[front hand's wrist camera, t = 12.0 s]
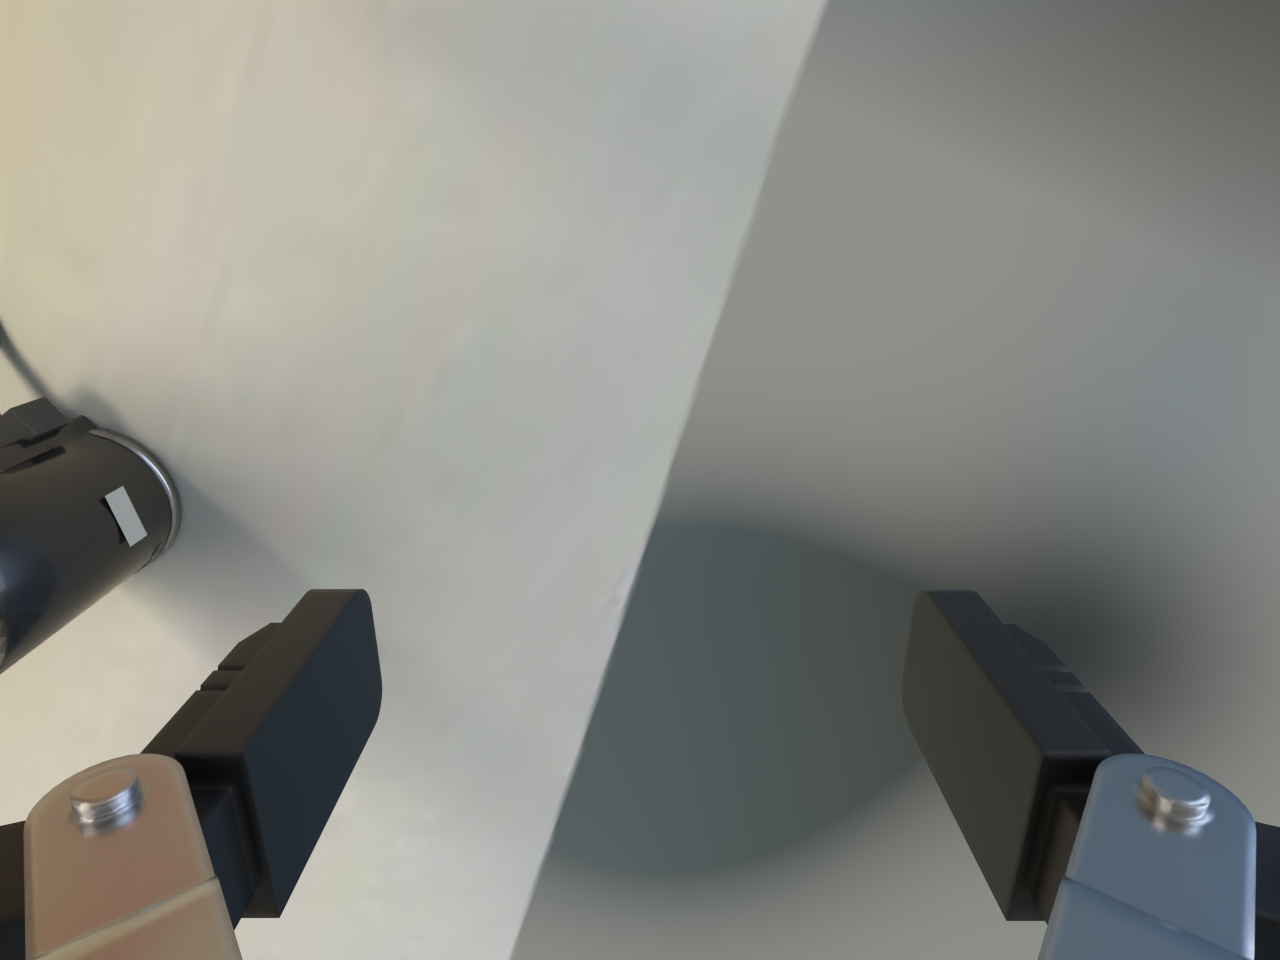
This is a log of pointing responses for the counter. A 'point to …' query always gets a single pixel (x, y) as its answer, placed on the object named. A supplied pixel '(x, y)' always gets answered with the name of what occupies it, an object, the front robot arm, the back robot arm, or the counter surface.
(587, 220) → the counter surface
